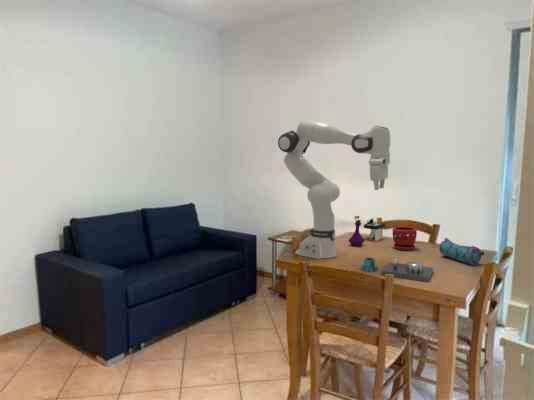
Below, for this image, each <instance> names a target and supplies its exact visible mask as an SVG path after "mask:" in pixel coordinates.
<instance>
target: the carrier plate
mask: <svg viewBox="0 0 534 400" xmlns="http://www.w3.org/2000/svg"><path fill="white" fill-rule="evenodd" d="M398 260H399V259H398V258H393V261H390V262H388V263H387V264H386V265H385V266H384V267H383V268H382V269H381V271H380V275H381V276H385V274H393V275H394V276H395V277H394V278H399V279H406V280H413V281H419V282H425V283H428V282H429V281H430V279H431V278H432V276H433V274H434V267H430V266H429V267H428V266H425V264H424V263H423V262H422V263H421V262H419V261H406V262H405V263H400V262H398Z"/></svg>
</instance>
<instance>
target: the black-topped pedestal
mask: <svg viewBox="0 0 534 400" xmlns="http://www.w3.org/2000/svg"><path fill="white" fill-rule="evenodd" d="M385 227H386V223H382V222H376V220H374V218H369V219H367V222H366V223H365V224H363V229H368V230H370V233H369V239H370V240H371V239H374V242H377V241H380V240H382V229H383V228H385Z"/></svg>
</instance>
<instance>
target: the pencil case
mask: <svg viewBox="0 0 534 400" xmlns="http://www.w3.org/2000/svg"><path fill="white" fill-rule="evenodd" d="M443 239H444V240H443V241H441V242H440V244H439V247H438V248H439V252H440V254H441V255H442V256H444V257H447V258H450V259H454V260H457V261H459V262H462V263H464V264H467V265H471V266H477V265H478V264H479V262H481V259H482V256H485V251H481V249H480V248H479V247H477V246H475V245H471V246H469V245H460V244H457V243H455V242H453V241H451V240H450V239H449V238H448V237H445V238H443Z"/></svg>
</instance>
